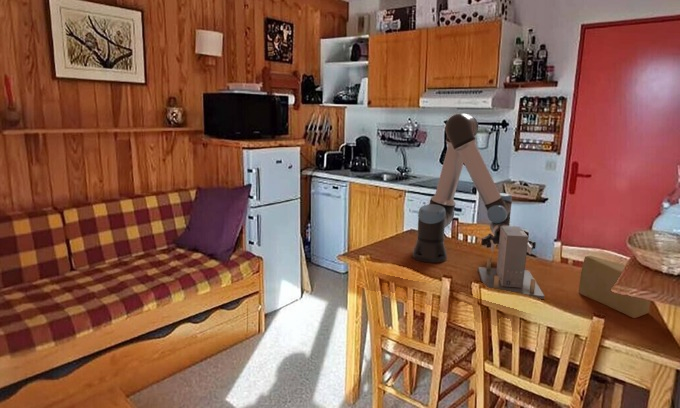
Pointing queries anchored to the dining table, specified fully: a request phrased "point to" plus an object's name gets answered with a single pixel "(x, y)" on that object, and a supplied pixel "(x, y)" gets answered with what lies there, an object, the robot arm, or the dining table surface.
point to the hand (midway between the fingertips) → (511, 249)
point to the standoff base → (492, 281)
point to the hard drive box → (512, 256)
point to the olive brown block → (608, 287)
